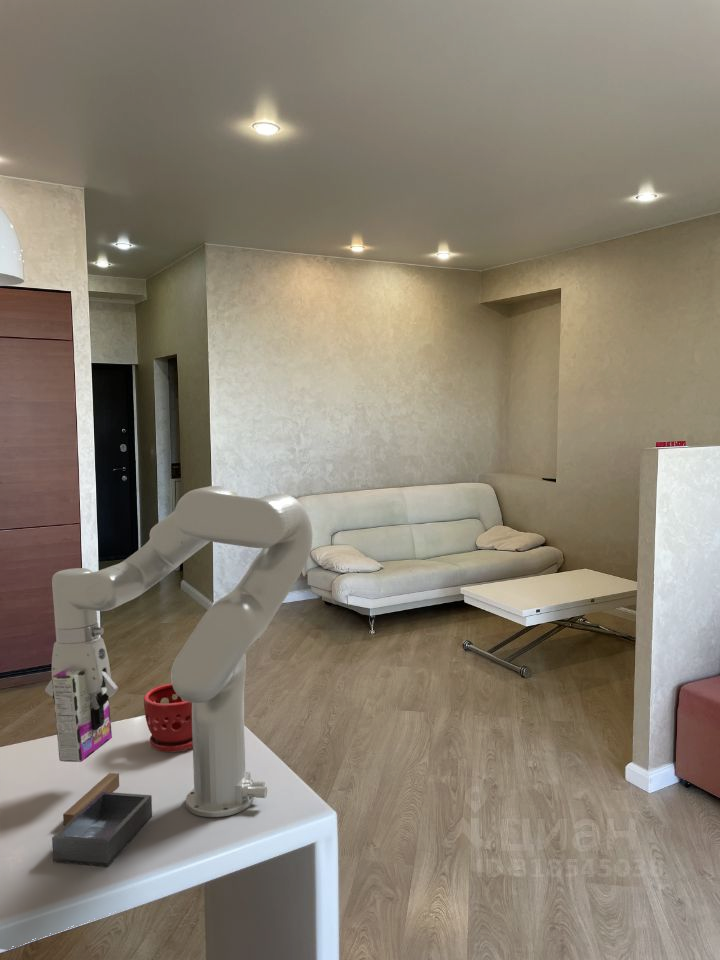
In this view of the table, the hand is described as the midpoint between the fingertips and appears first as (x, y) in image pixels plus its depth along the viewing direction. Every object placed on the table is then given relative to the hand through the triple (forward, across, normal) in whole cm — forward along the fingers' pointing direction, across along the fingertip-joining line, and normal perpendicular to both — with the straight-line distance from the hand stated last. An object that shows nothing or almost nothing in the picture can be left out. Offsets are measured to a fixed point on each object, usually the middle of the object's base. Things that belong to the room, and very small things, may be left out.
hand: (84, 726), depth 143 cm
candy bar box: (+5, 0, 0) cm, 5 cm away
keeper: (+13, -12, +15) cm, 23 cm away
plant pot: (+13, -8, -23) cm, 28 cm away
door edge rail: (+13, -4, +5) cm, 14 cm away
